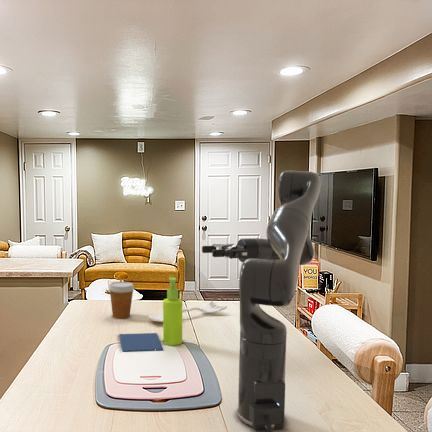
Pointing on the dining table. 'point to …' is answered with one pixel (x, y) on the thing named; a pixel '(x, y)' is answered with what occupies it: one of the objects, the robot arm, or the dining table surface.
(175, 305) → the soap dispenser
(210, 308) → the spoon
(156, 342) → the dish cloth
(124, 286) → the disposable coffee cup
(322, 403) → the dining table surface
